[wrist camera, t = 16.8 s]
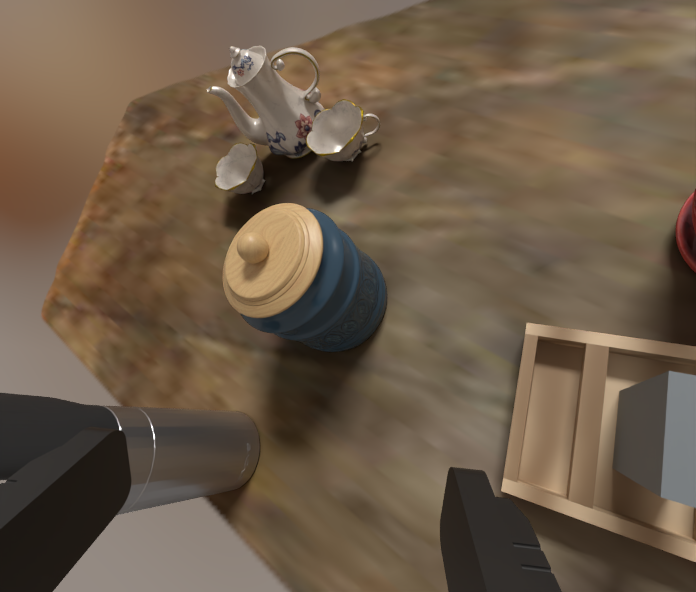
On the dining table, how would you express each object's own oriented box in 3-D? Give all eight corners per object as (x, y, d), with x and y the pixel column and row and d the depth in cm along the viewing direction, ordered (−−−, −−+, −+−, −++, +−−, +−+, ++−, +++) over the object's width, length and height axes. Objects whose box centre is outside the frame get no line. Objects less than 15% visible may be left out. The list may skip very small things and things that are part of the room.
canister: (370, 237, 45) (289, 146, 31) (405, 327, 39) (326, 269, 25) (289, 282, 49) (182, 221, 34) (310, 370, 43) (192, 343, 29)
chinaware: (239, 224, 61) (148, 175, 46) (236, 143, 65) (153, 75, 51) (393, 163, 49) (338, 74, 35) (377, 70, 54) (322, -43, 40)
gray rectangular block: (612, 468, 28) (660, 497, 17) (619, 390, 29) (668, 370, 18) (671, 485, 26) (768, 530, 15) (676, 402, 27) (769, 388, 16)
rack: (504, 485, 31) (501, 491, 28) (527, 330, 34) (526, 322, 31) (818, 598, 22) (855, 620, 19) (814, 373, 25) (845, 367, 22)
